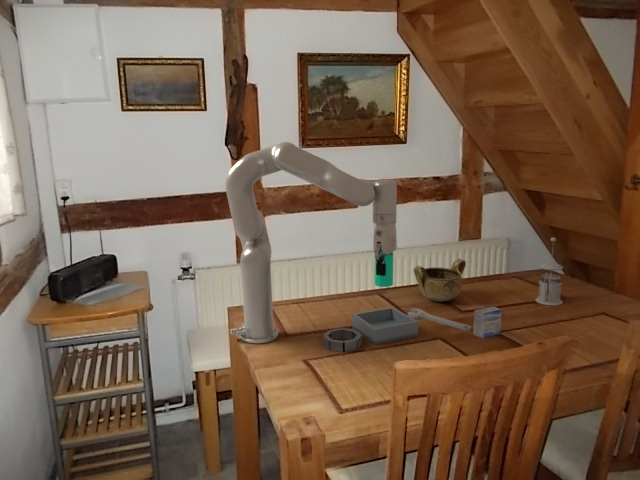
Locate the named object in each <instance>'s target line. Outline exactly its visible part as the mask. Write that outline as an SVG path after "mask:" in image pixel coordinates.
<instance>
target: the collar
mask: <svg viewBox="0 0 640 480" xmlns="http://www.w3.org/2000/svg"><path fill="white" fill-rule="evenodd" d="M322 335H323V336H322V337H323V340H322V341H323V342H322V343H323V346H324V348H326V349H327V350H330V351H332V352H333V351H334V352H340V353H343V352H344V353H347V352H352V351H356V350H358V349H359V348H360V347H361V346H362V341H363V335H362V334H360V333H359V332H358V331H356V330H354V329H353V328H346V327H345V328H344V327H342V328H340V327H339V328H334V329H329V330H327V331H326V332H325V333H324V334H322ZM340 339H343V340H340Z"/></svg>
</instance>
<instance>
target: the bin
mask: <svg viewBox="0 0 640 480" xmlns="http://www.w3.org/2000/svg"><path fill="white" fill-rule="evenodd" d="M351 327H352V328H351V329H354V330H356V331H358V332H359V333H360V334H362V337H364V338H365V339H367V340H368V341H369V342H371V343H372V344H373V345H380V344H384V343H385V344H386V343H389V342H394V341H398V340H399V341H401V340H403V339H404V340H405V339H409V338H415V337H418V336H419V335H418V333H419V332H418V330H419V322H418V320H417V319H415V318H412V317H409V316H408V314H406V313H404V312H402V311H400V310H399V309H397V308H396V307H393V306H390V307H384V308H378V309H373V310H367V311H362V312H356V313H352V314H351Z"/></svg>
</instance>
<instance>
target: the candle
mask: <svg viewBox="0 0 640 480" xmlns="http://www.w3.org/2000/svg"><path fill="white" fill-rule="evenodd" d="M380 254H383V252H380ZM380 257H382V259H383V256H380ZM385 264H386V275H385V276H381V275H376V258H375V257H374V285H375V286H376V287H381V288H389V287H392V286H393V285H394V252H392V253H391V254H389V255H386V256H385Z"/></svg>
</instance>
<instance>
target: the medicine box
mask: <svg viewBox="0 0 640 480" xmlns="http://www.w3.org/2000/svg"><path fill="white" fill-rule="evenodd" d="M473 312H474V313H473V335H474V336H476V337H479V338H480V339H483V340H484V339H487V338H490V337H494V336H497V335H498V336H499V335H500V334H501V329H502V327H501V326H502V309H501V308H499V307H496V306H493V305H491V306H487V307H483V308H479V309H475V310H474V311H473Z"/></svg>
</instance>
